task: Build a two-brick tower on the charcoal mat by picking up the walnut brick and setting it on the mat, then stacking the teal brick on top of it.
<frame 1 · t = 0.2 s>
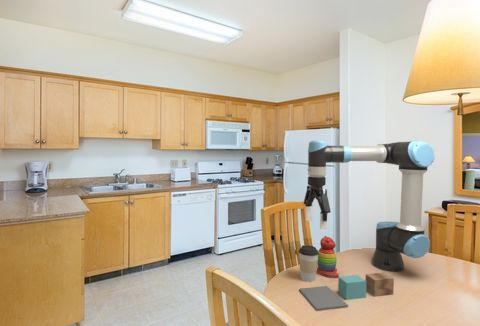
hand: (315, 224, 126), 28 cm above the table, tool pointing down, fingers open, 13 cm apart
walnut brick: (379, 292, 123), on the table
coffee cup: (308, 278, 135), on the table
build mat: (322, 298, 117), on the table
stacking bear: (327, 273, 141), on the table
teal brick: (351, 295, 120), on the table
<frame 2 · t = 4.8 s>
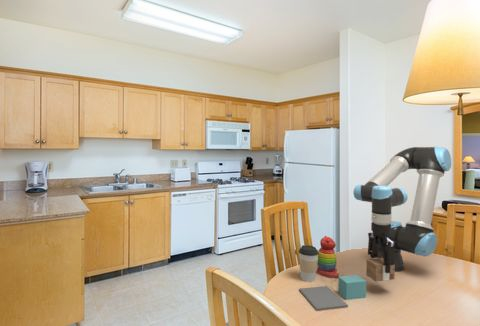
hand: (380, 276, 123), 7 cm above the table, tool pointing down, fingers closed on walnut brick, 6 cm apart
walnut brick: (380, 277, 123), point 6 cm above the table, touching gripper
everything else where it was.
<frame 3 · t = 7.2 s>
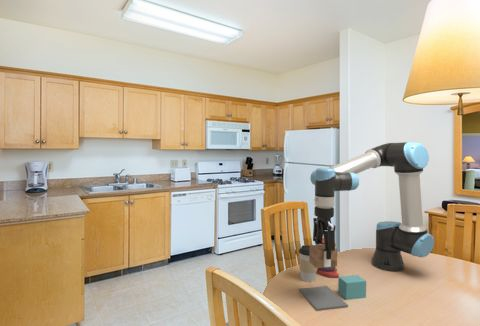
hand: (322, 263, 116), 15 cm above the table, tool pointing down, fingers closed on walnut brick, 6 cm apart
walnut brick: (322, 264, 116), point 14 cm above the table, touching gripper
everything else where it was.
when the fingers open (1 cm above the table, at t = 9.8 s): walnut brick stays where it is, resting on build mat.
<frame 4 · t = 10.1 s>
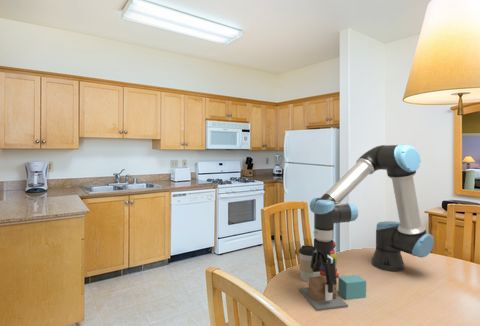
hand: (322, 293, 117), 2 cm above the table, tool pointing down, fingers open, 9 cm apart
walnut brick: (322, 296, 117), point 1 cm above the table, touching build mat
everything else where it was.
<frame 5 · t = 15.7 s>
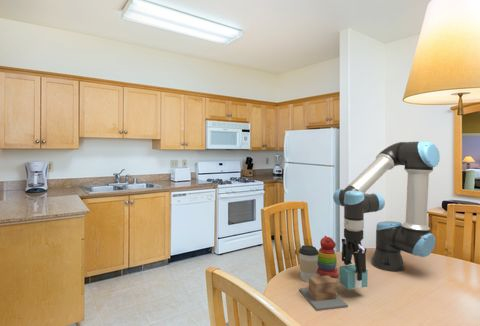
hand: (353, 283, 120), 5 cm above the table, tool pointing down, fingers closed on teal brick, 6 cm apart
teal brick: (353, 284, 120), point 4 cm above the table, touching gripper
everything else where it was.
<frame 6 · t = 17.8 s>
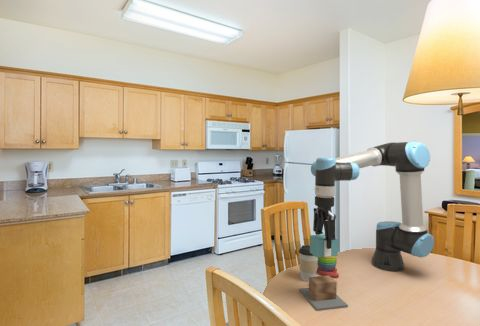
hand: (323, 252, 116), 19 cm above the table, tool pointing down, fingers closed on teal brick, 6 cm apart
teal brick: (323, 254, 116), point 18 cm above the table, touching gripper
everything else where it was.
when the fingers open (8 cm above the table, at t = 19.9 s): teal brick stays where it is, resting on walnut brick.
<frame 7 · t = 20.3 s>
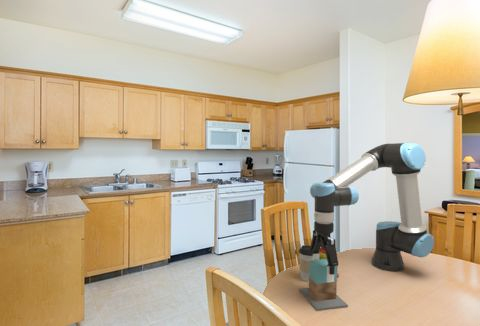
hand: (322, 275, 116), 10 cm above the table, tool pointing down, fingers open, 11 cm apart
walnut brick: (322, 296, 117), point 1 cm above the table, touching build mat, teal brick
teal brick: (322, 279, 117), point 8 cm above the table, touching walnut brick
everything else where it was.
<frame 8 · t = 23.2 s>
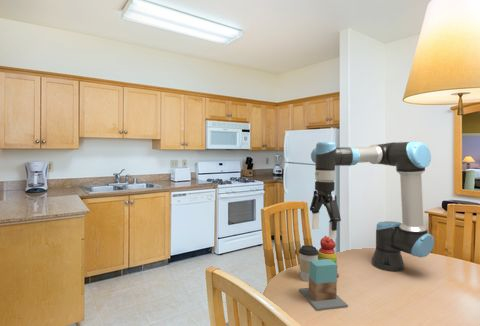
hand: (323, 233, 116), 27 cm above the table, tool pointing down, fingers open, 13 cm apart
nothing on the table moved.
at the end: walnut brick inside the target area on the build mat (0.0 cm from its centre), point 0.8 cm above the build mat's base; teal brick 0.1 cm off-centre on the walnut brick, point 7.0 cm above the walnut brick's base; teal brick tilted 0° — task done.
